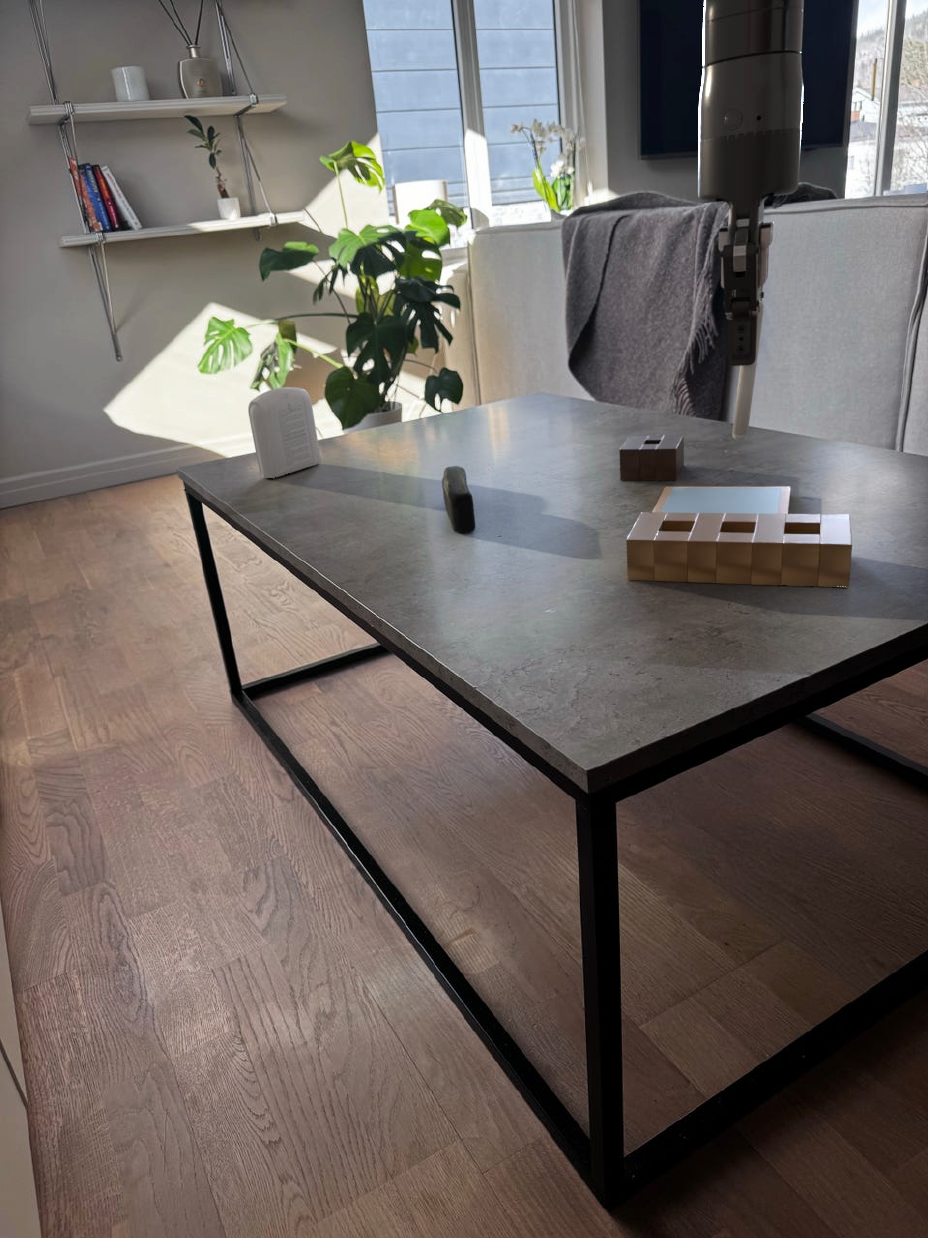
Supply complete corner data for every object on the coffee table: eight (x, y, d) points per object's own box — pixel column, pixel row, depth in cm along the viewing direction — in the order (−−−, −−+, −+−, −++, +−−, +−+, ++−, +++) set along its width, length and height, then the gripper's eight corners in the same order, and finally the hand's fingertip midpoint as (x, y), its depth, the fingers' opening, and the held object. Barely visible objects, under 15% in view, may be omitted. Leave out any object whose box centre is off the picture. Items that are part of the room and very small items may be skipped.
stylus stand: (683, 464, 116) (683, 434, 114) (676, 480, 110) (676, 448, 108) (630, 465, 118) (629, 435, 116) (620, 480, 112) (619, 449, 111)
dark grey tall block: (475, 492, 97) (460, 457, 111) (448, 495, 97) (436, 460, 110) (479, 534, 99) (464, 495, 113) (453, 538, 99) (440, 498, 113)
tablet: (790, 493, 100) (790, 485, 100) (784, 549, 85) (785, 539, 85) (665, 493, 105) (665, 485, 105) (638, 546, 90) (638, 536, 90)
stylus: (747, 439, 78) (765, 298, 73) (746, 443, 77) (764, 300, 72) (732, 438, 78) (748, 298, 73) (730, 441, 77) (747, 300, 72)
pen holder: (846, 555, 82) (849, 514, 81) (848, 588, 76) (852, 544, 74) (642, 549, 89) (641, 511, 87) (627, 580, 82) (626, 539, 81)
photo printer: (308, 460, 140) (294, 381, 135) (326, 463, 137) (312, 382, 132) (256, 478, 133) (239, 395, 128) (274, 481, 130) (257, 396, 125)
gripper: (799, 118, 61) (786, 375, 68) (803, 128, 72) (792, 347, 79) (687, 133, 63) (686, 379, 70) (708, 140, 75) (705, 351, 82)
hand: (742, 361), depth 75 cm, fingers closed on stylus, 1 cm apart
